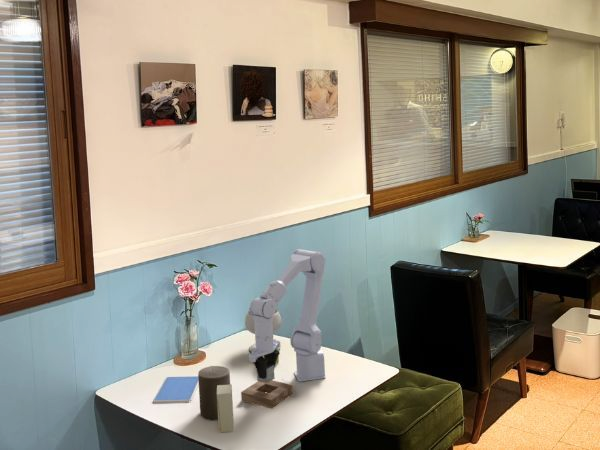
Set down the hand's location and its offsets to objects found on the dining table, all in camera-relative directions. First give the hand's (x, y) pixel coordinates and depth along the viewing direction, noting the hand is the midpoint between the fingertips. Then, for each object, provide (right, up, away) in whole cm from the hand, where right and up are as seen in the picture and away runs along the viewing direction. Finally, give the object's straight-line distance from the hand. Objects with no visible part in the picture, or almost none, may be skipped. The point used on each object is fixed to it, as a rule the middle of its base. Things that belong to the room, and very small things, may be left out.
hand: (266, 375), depth 211 cm
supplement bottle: (0, -2, +29) cm, 29 cm away
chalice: (-3, 0, +43) cm, 43 cm away
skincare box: (-11, -12, -17) cm, 23 cm away
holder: (0, -7, +1) cm, 8 cm away
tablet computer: (-30, -8, +10) cm, 33 cm away
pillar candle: (-15, -10, -8) cm, 20 cm away
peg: (0, -1, 0) cm, 2 cm away
